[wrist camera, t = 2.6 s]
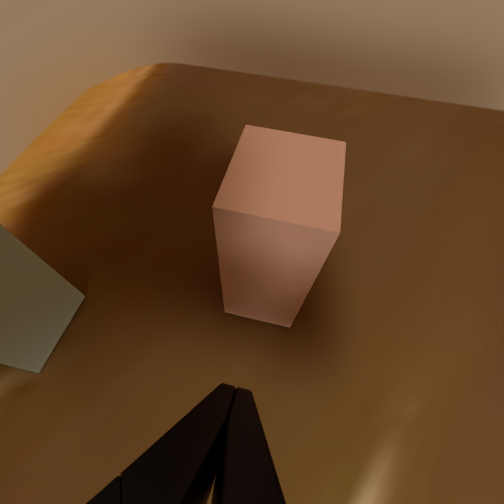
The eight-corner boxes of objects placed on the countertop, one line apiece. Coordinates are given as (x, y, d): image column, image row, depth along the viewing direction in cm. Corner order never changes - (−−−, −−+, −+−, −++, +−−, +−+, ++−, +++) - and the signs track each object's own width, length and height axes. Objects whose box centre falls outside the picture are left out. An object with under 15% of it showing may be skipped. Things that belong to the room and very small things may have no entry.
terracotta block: (289, 327, 16) (340, 232, 8) (224, 312, 17) (212, 206, 9) (299, 264, 19) (346, 142, 11) (242, 251, 19) (245, 124, 11)
